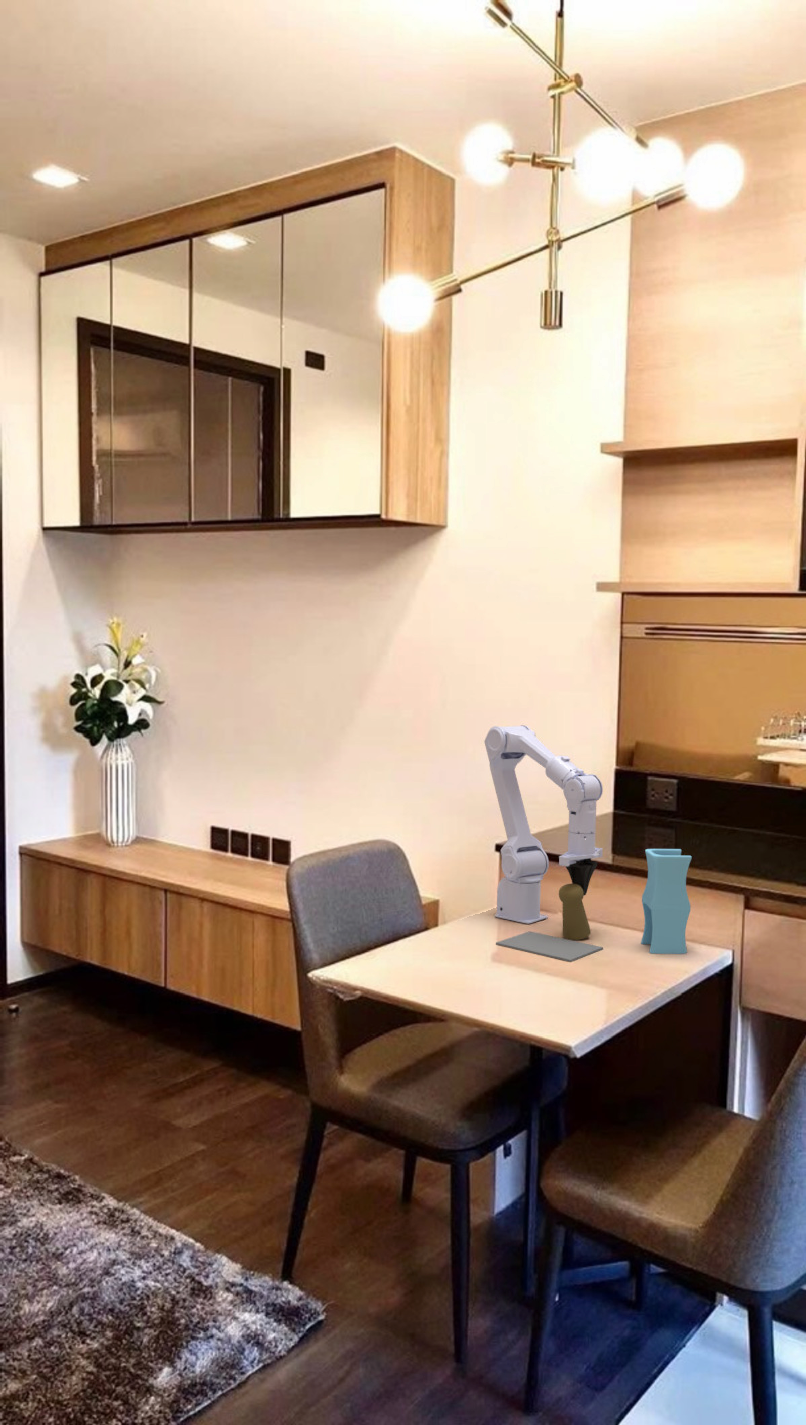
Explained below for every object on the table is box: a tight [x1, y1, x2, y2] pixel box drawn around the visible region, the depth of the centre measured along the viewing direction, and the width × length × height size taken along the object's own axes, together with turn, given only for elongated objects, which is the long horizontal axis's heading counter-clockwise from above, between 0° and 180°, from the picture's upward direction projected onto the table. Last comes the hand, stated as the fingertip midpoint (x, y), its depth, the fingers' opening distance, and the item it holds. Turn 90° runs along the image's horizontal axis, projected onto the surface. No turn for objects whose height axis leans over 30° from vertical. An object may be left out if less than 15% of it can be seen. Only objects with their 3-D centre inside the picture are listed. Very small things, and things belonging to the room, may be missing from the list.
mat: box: [495, 930, 604, 963], centre depth 224 cm, size 18×12×1 cm
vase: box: [640, 848, 692, 955], centre depth 224 cm, size 8×8×20 cm
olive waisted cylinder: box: [558, 883, 592, 941], centre depth 231 cm, size 6×6×11 cm
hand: (580, 894), depth 233 cm, fingers closed
